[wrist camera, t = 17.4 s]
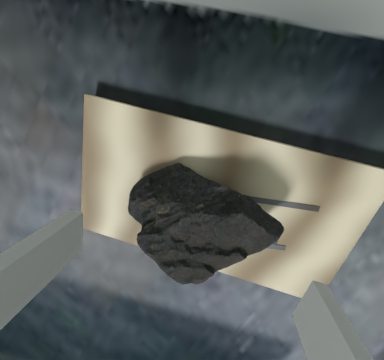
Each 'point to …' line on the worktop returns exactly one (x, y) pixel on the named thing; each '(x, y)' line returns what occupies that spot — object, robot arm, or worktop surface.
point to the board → (231, 187)
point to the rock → (197, 223)
